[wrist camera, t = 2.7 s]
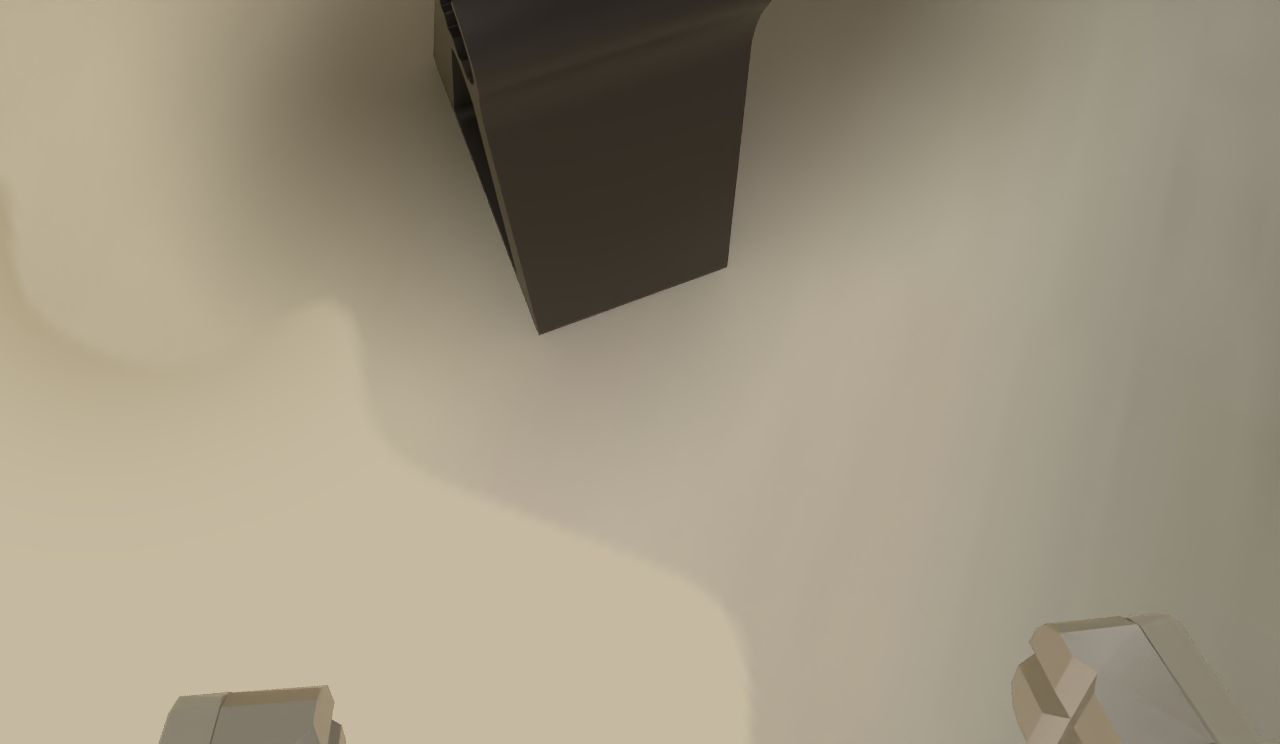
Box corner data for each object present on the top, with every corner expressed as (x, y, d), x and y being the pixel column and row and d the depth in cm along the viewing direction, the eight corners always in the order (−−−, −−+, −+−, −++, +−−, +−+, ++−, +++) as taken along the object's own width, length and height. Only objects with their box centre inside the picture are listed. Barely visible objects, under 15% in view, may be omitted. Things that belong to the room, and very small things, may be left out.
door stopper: (434, 60, 28) (352, -258, 16) (620, 4, 29) (672, -338, 17) (537, 337, 27) (531, 219, 15) (724, 271, 28) (856, 110, 16)
